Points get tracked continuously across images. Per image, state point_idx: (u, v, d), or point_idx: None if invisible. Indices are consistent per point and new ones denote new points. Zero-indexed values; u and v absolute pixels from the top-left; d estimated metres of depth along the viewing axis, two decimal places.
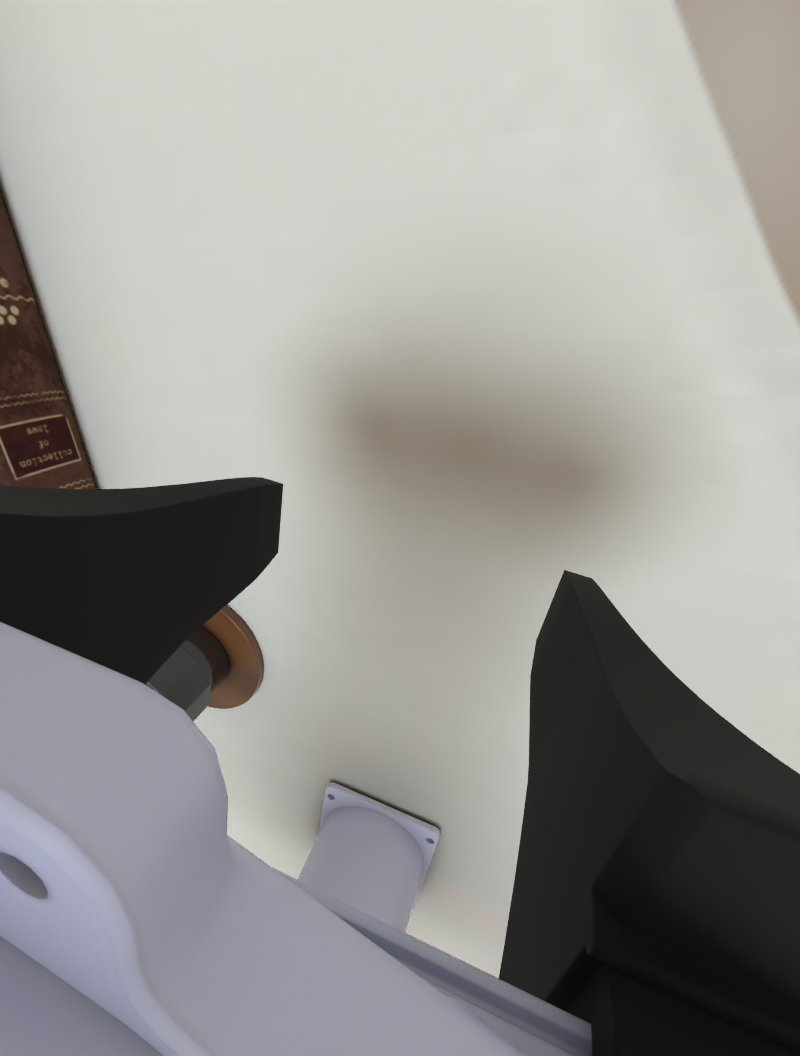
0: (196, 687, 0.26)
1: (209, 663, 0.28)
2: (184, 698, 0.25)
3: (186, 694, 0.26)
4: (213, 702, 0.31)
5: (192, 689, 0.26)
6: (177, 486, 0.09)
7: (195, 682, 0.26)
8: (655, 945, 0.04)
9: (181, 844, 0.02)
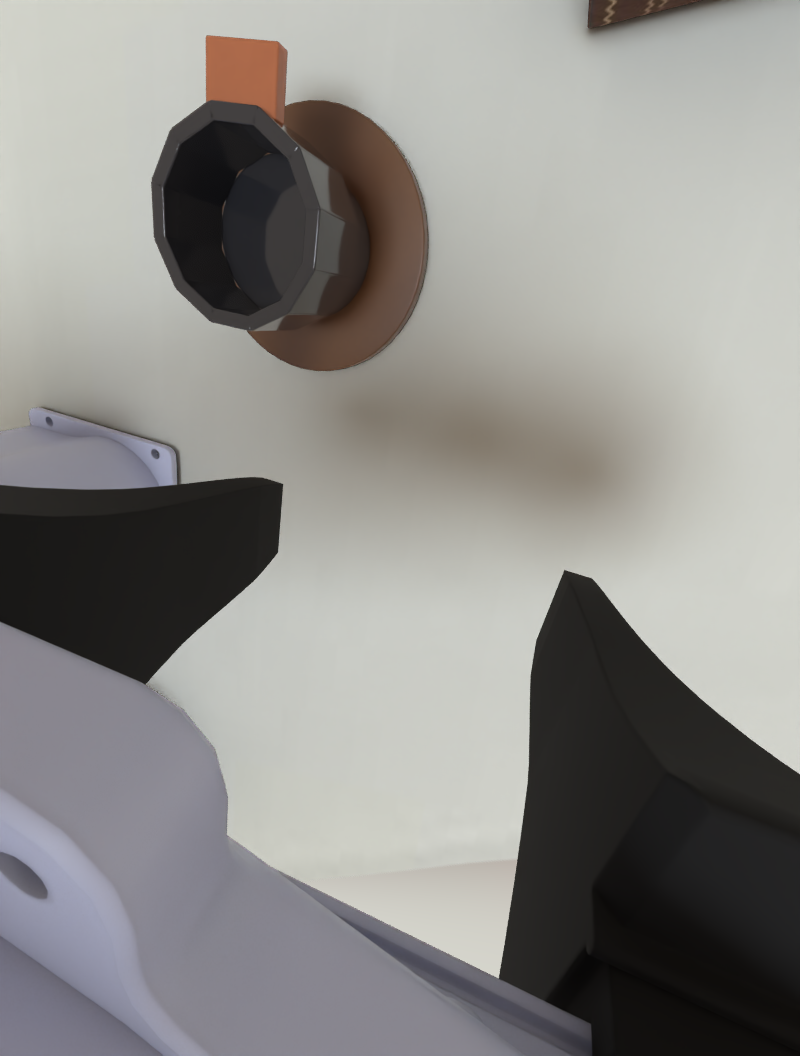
0: (293, 325, 0.16)
1: None
2: (279, 325, 0.15)
3: (285, 324, 0.16)
4: None
5: (291, 324, 0.16)
6: (177, 486, 0.09)
7: (300, 322, 0.16)
8: (655, 945, 0.04)
9: (181, 843, 0.02)
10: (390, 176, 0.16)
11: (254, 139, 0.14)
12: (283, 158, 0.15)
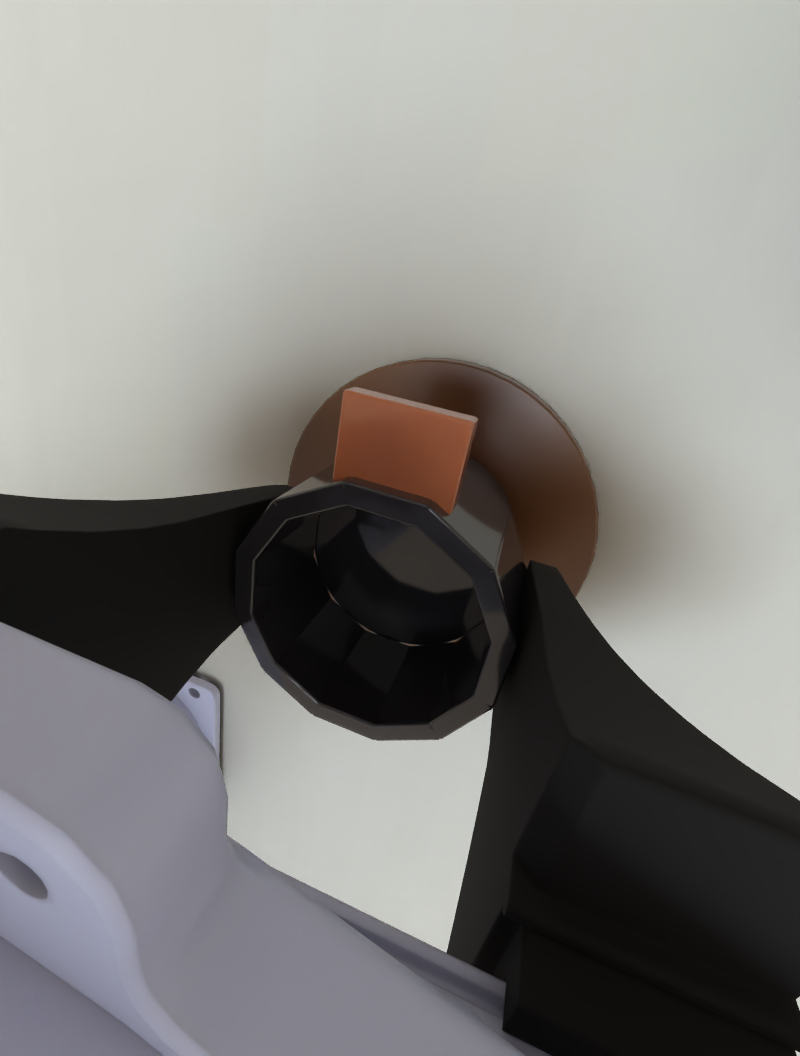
0: None
1: None
2: None
3: None
4: None
5: None
6: (206, 495, 0.09)
7: None
8: (567, 906, 0.04)
9: (181, 844, 0.02)
10: (555, 466, 0.12)
11: None
12: None
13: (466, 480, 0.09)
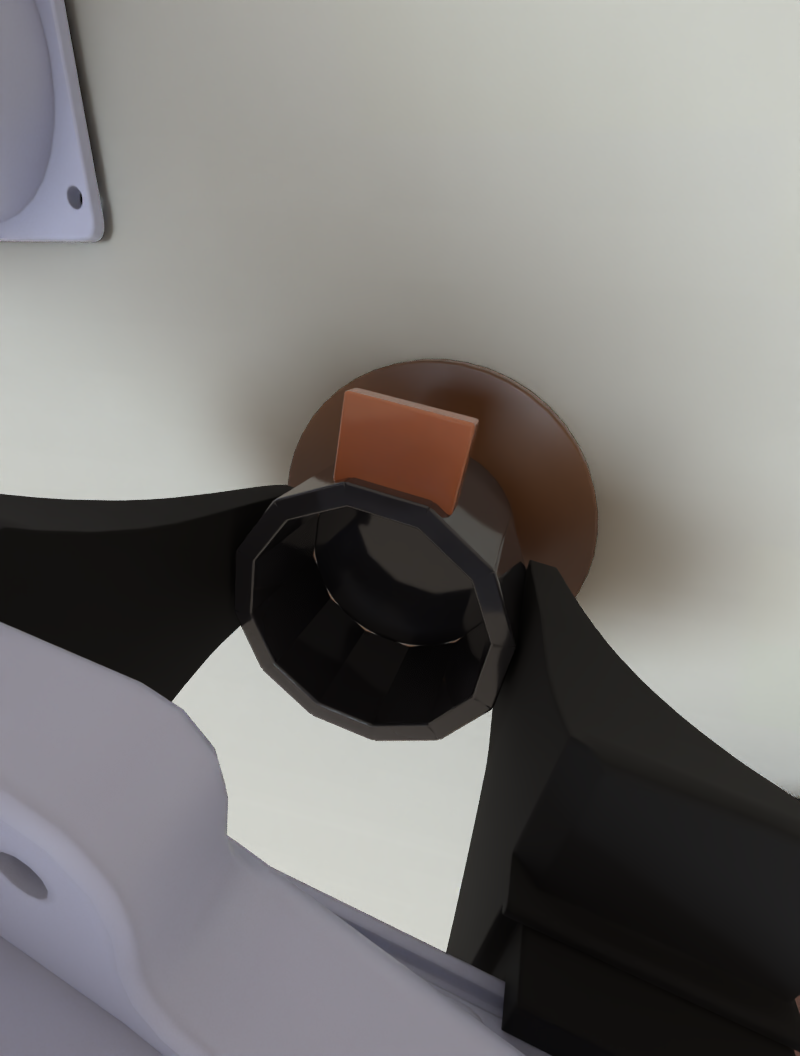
0: None
1: None
2: None
3: None
4: (390, 385, 0.12)
5: None
6: (206, 496, 0.09)
7: None
8: (566, 906, 0.04)
9: (182, 844, 0.02)
10: None
11: None
12: None
13: (466, 481, 0.09)
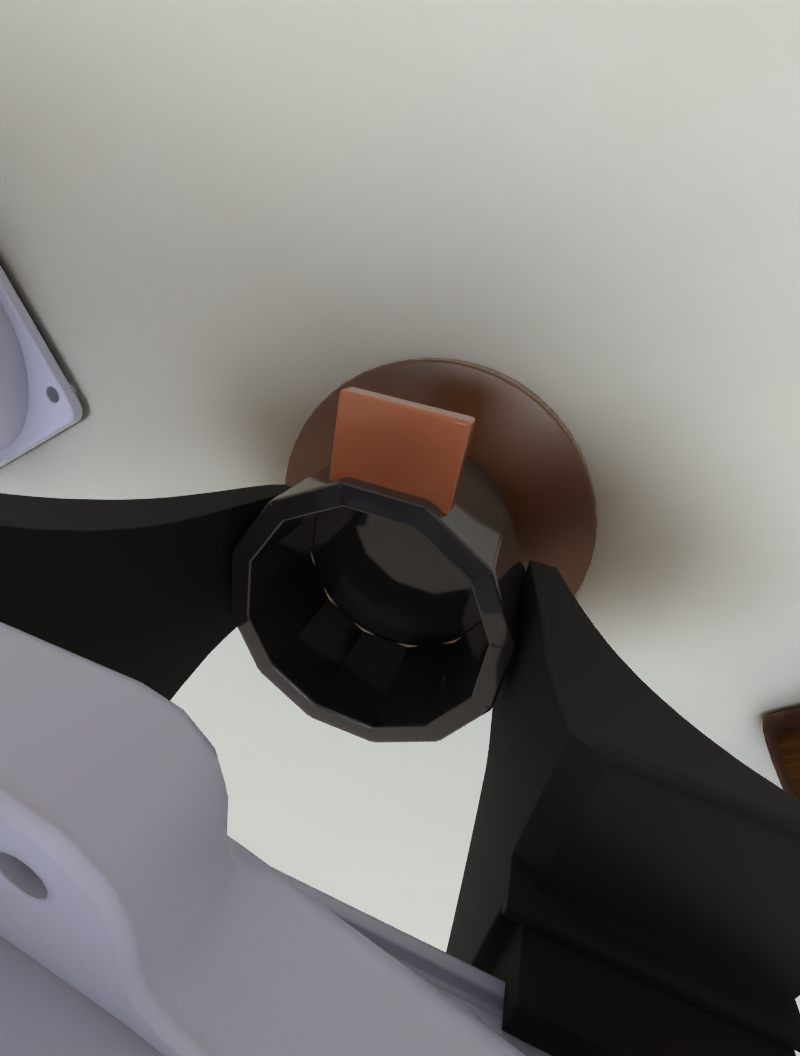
0: None
1: None
2: None
3: None
4: (333, 415, 0.13)
5: None
6: (205, 495, 0.09)
7: None
8: (567, 906, 0.04)
9: (181, 844, 0.02)
10: None
11: None
12: None
13: (464, 480, 0.09)
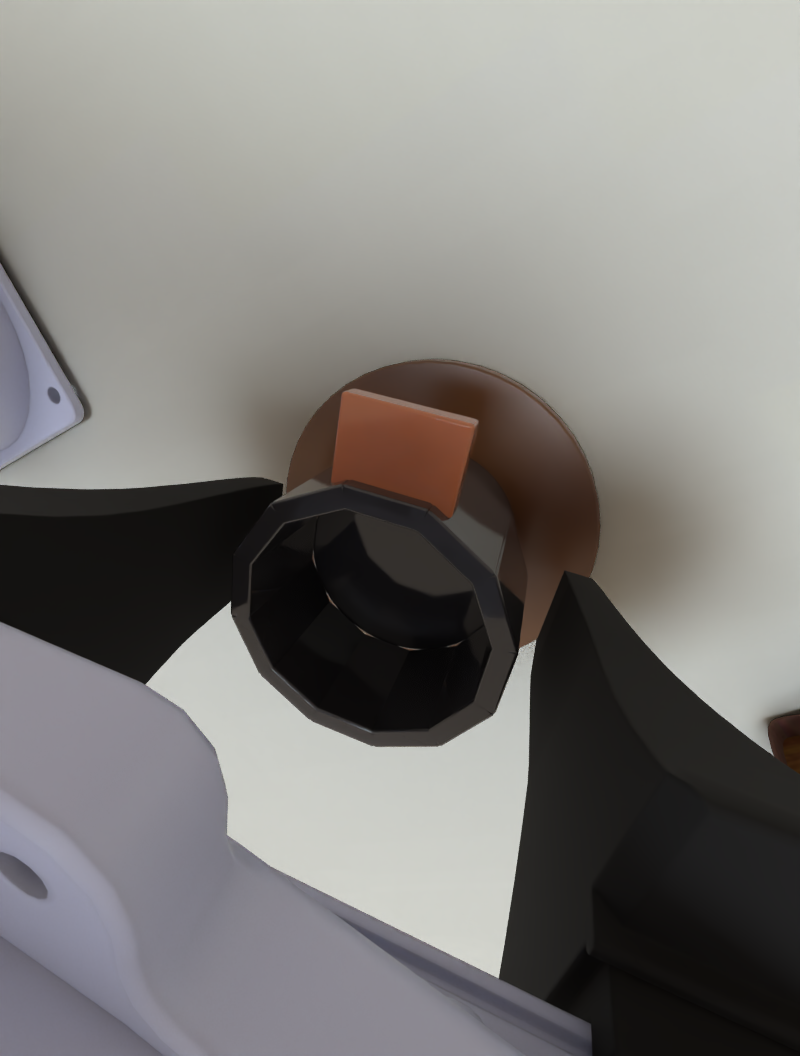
0: None
1: None
2: None
3: None
4: (334, 417, 0.13)
5: None
6: (177, 486, 0.09)
7: None
8: (655, 945, 0.04)
9: (181, 844, 0.02)
10: (550, 595, 0.13)
11: None
12: None
13: (467, 483, 0.09)
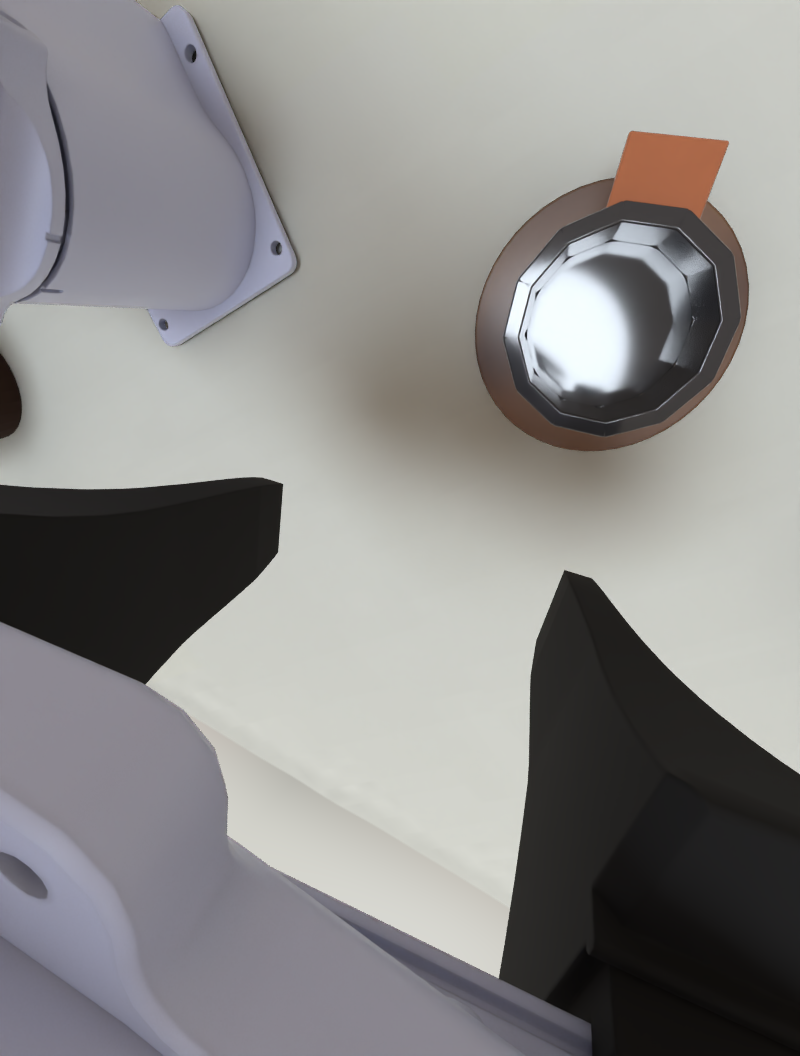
0: None
1: None
2: None
3: None
4: (531, 236, 0.16)
5: None
6: (177, 486, 0.09)
7: None
8: (655, 945, 0.04)
9: (181, 844, 0.02)
10: None
11: (632, 233, 0.13)
12: (629, 246, 0.14)
13: None
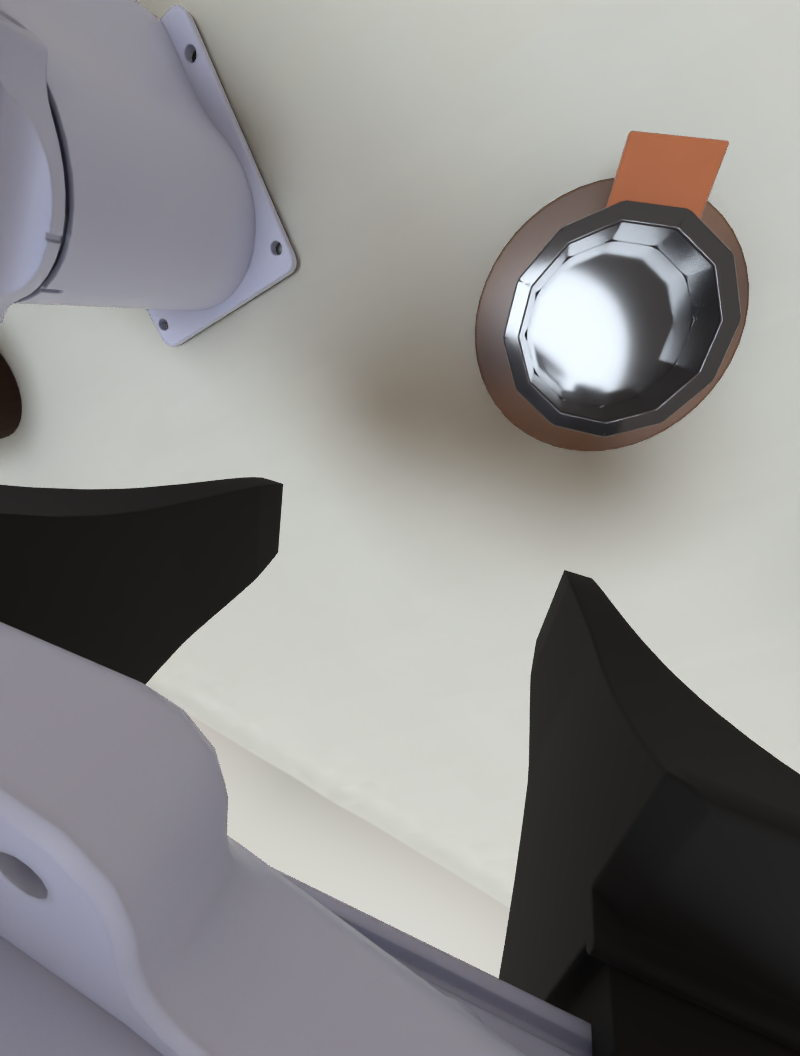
0: None
1: None
2: None
3: None
4: (531, 236, 0.16)
5: None
6: (177, 486, 0.09)
7: None
8: (655, 945, 0.04)
9: (181, 844, 0.02)
10: None
11: (632, 233, 0.13)
12: (629, 245, 0.14)
13: None
